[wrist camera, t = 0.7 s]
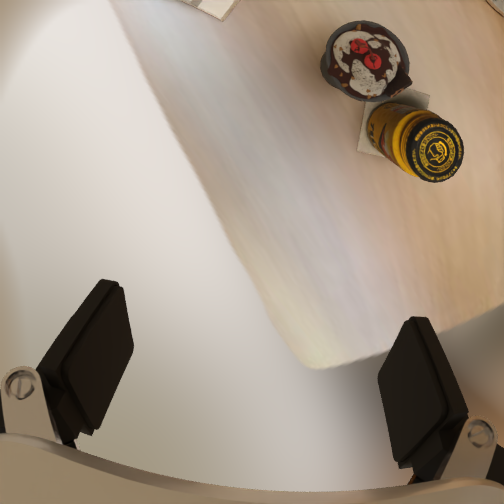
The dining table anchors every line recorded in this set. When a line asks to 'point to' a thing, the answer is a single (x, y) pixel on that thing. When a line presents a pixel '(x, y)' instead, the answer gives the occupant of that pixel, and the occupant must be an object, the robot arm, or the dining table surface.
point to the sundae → (366, 62)
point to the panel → (214, 7)
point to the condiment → (411, 136)
